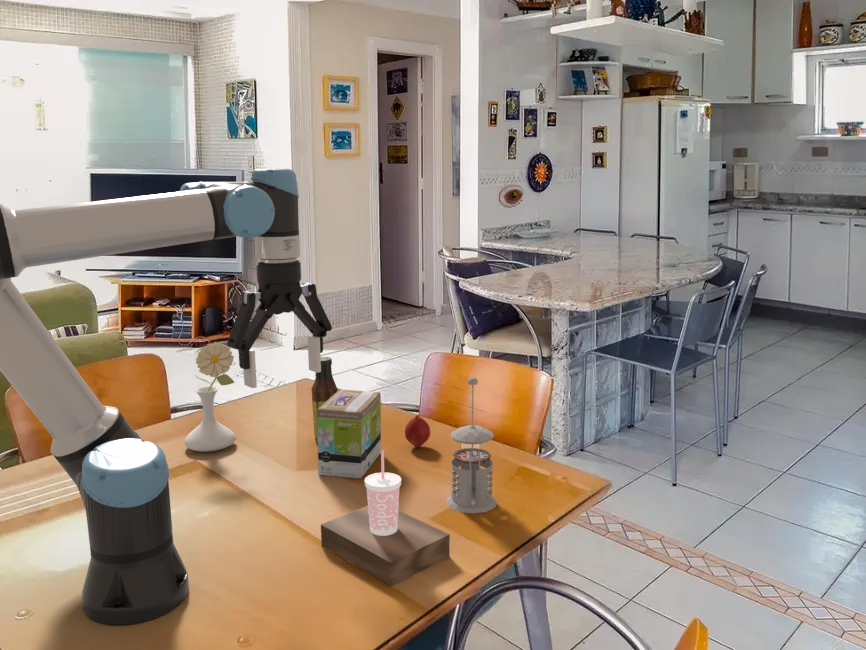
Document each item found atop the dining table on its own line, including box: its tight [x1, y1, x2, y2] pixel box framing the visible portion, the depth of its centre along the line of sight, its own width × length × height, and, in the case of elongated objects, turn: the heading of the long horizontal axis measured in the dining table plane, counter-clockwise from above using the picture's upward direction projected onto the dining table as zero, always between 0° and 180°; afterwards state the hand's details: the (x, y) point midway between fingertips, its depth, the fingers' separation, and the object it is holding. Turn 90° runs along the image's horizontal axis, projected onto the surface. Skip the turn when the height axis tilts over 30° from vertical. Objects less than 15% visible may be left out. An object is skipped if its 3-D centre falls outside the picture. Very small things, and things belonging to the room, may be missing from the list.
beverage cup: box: [364, 449, 402, 536], centre depth 132 cm, size 6×6×14 cm
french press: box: [446, 376, 498, 514], centre depth 149 cm, size 10×12×25 cm
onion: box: [404, 413, 431, 449], centre depth 180 cm, size 6×6×8 cm
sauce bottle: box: [311, 356, 339, 443], centre depth 183 cm, size 7×6×20 cm
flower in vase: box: [183, 341, 237, 452], centre depth 179 cm, size 13×11×25 cm
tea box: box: [317, 389, 382, 479], centre depth 170 cm, size 15×10×15 cm, turn 168°
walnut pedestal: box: [320, 505, 450, 587], centre depth 134 cm, size 13×18×4 cm
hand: (283, 378), depth 141 cm, fingers open, 13 cm apart
